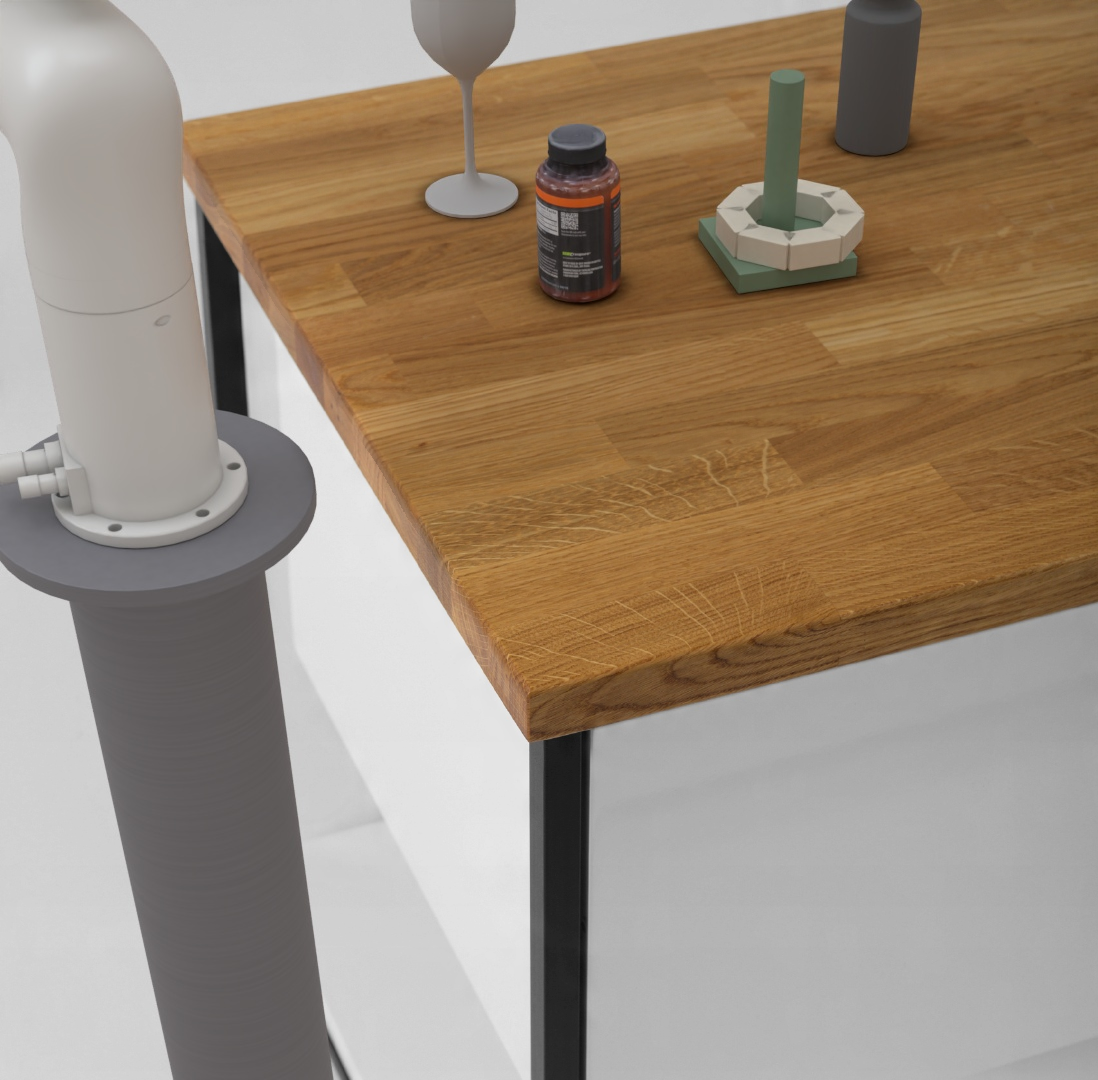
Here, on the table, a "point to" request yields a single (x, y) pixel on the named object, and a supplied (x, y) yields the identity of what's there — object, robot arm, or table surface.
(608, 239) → the supplement bottle
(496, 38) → the wineglass
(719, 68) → the table surface
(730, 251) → the ring
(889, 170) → the table surface
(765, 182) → the stand
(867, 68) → the bottle
